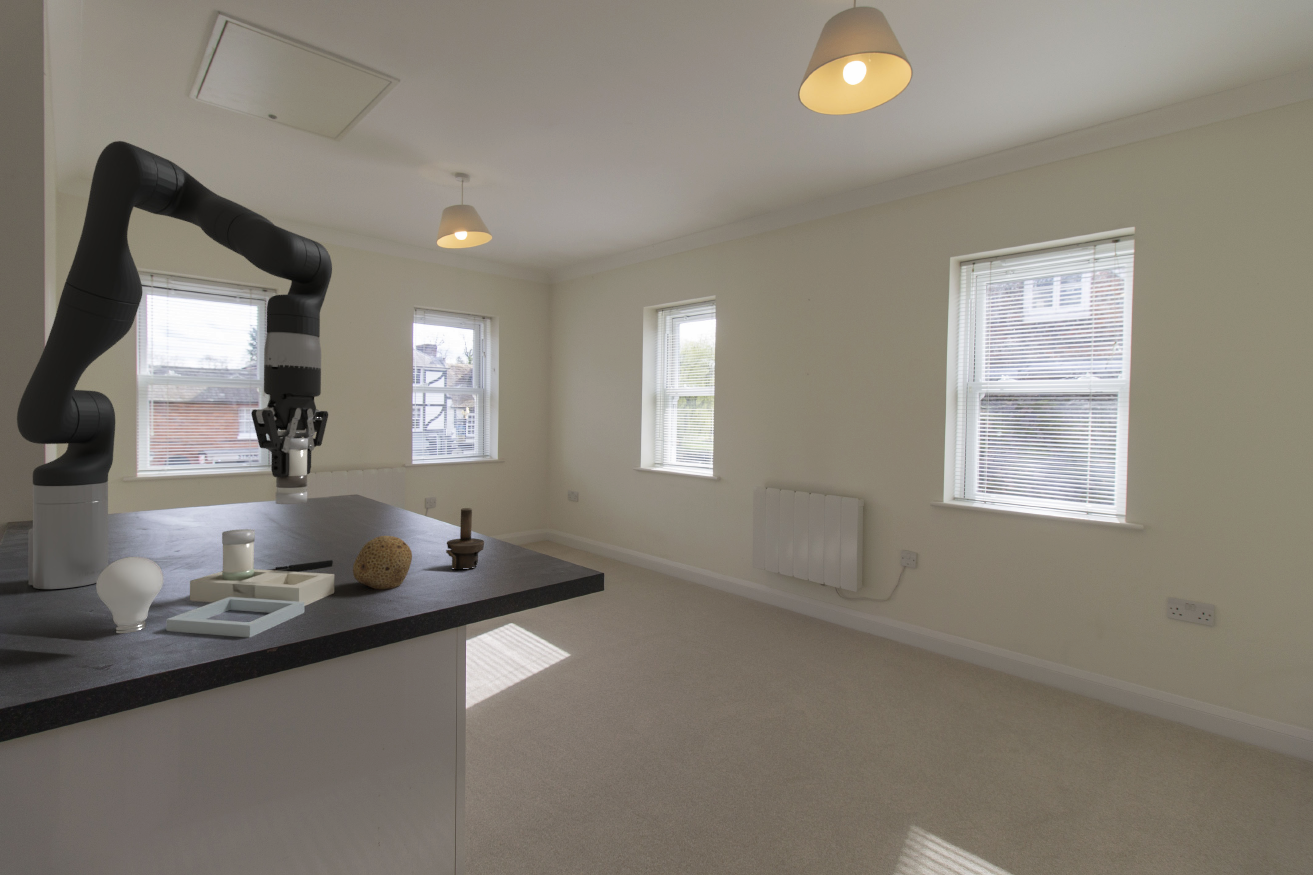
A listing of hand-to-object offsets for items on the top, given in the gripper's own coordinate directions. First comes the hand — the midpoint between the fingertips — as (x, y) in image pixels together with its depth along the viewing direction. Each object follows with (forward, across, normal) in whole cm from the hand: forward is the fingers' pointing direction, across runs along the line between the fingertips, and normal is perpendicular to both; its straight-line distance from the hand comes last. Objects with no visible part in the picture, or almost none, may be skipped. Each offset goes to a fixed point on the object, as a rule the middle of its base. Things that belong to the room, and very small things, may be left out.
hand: (291, 474), depth 92 cm
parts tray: (+21, +10, +1) cm, 23 cm away
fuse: (+19, 0, -9) cm, 21 cm away
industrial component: (+21, -30, +16) cm, 40 cm away
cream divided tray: (+21, 0, -4) cm, 21 cm away
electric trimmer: (+21, -14, -12) cm, 28 cm away
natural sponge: (+21, -10, +10) cm, 25 cm away
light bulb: (+21, +16, -10) cm, 28 cm away
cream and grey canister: (+4, 0, 0) cm, 4 cm away
